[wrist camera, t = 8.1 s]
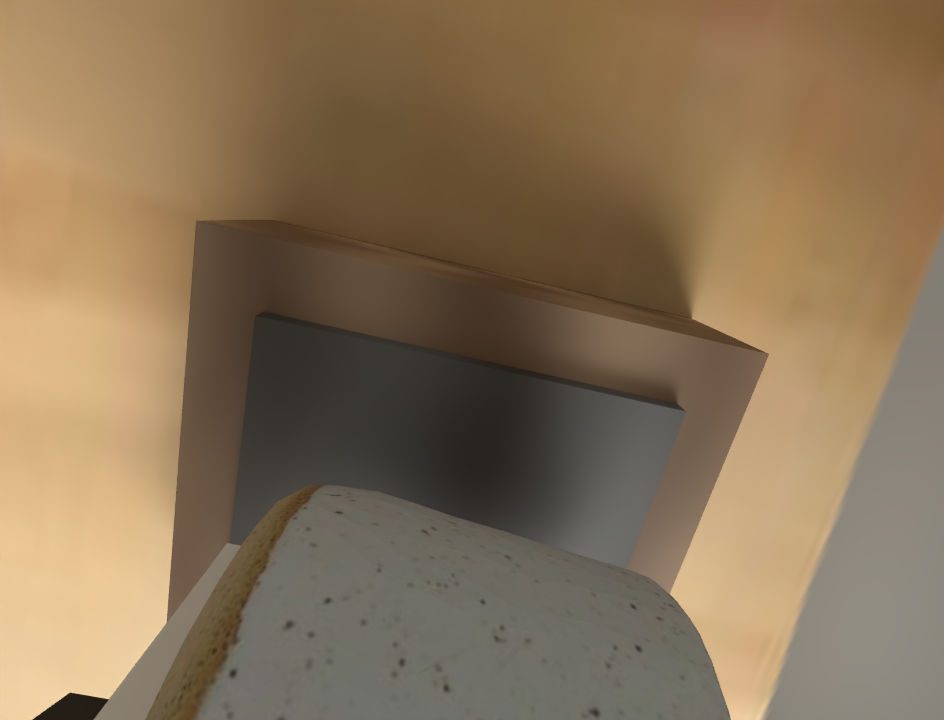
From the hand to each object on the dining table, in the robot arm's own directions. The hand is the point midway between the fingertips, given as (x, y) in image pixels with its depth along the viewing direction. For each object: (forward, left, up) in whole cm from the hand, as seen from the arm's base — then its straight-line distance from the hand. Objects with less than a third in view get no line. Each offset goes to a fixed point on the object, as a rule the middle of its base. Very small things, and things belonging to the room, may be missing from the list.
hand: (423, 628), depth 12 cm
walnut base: (0, 0, -9) cm, 9 cm away
